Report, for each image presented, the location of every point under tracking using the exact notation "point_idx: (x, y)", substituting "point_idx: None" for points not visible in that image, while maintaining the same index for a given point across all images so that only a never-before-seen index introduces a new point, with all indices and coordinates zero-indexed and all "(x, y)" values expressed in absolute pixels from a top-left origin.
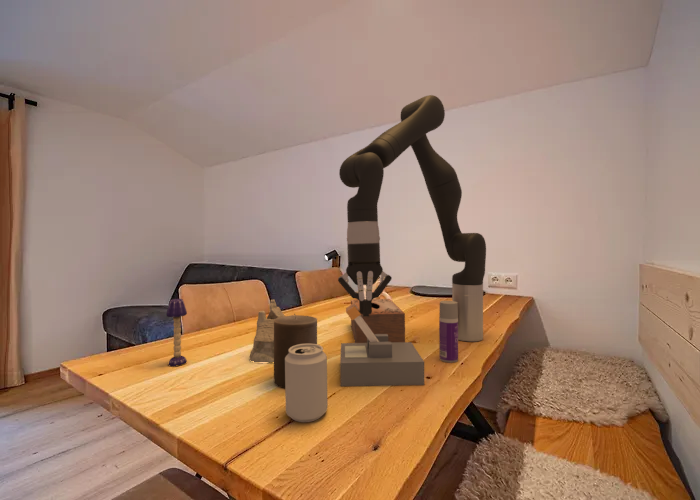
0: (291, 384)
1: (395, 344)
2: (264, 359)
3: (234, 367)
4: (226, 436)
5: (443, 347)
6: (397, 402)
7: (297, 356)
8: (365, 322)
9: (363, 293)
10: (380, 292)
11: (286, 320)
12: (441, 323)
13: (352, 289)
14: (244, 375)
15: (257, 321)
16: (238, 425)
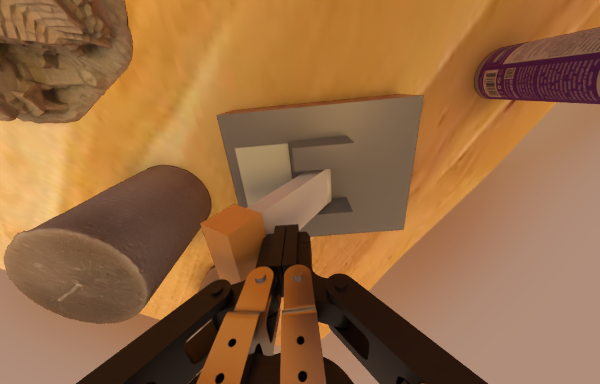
0: None
1: (371, 121)
2: (48, 122)
3: (15, 149)
4: (173, 309)
5: (506, 92)
6: (336, 253)
7: (200, 371)
8: (287, 199)
9: (274, 334)
10: (362, 332)
11: (64, 299)
12: (587, 83)
13: (201, 325)
14: (72, 186)
15: None
16: (171, 296)
